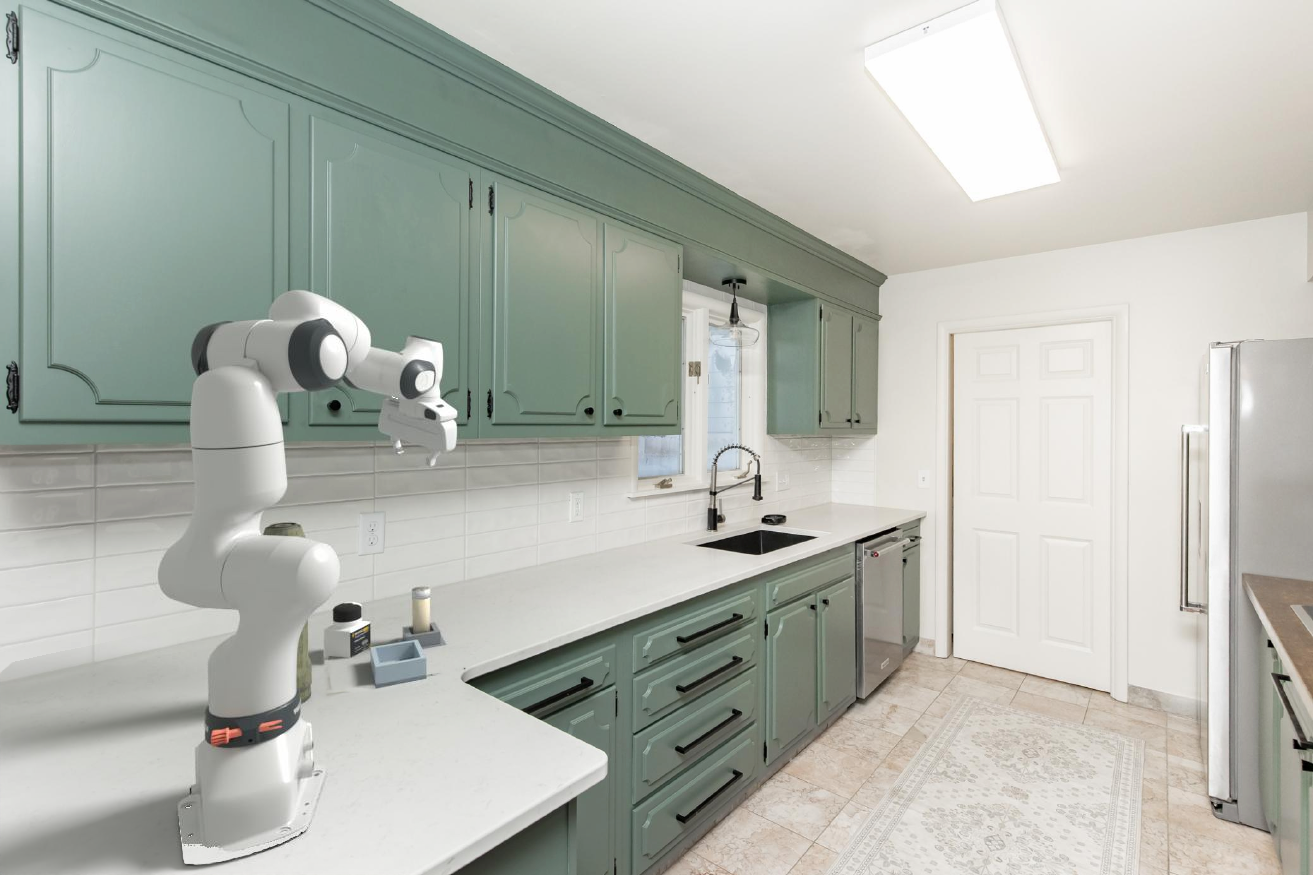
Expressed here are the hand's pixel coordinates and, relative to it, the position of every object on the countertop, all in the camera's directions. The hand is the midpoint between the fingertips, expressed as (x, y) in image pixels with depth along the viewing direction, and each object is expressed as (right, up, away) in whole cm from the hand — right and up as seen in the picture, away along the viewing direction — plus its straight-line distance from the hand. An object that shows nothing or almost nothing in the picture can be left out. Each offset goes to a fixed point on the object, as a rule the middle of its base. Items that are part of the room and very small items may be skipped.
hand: (414, 459), depth 148 cm
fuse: (+1, -45, +2) cm, 45 cm away
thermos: (-15, -47, -26) cm, 56 cm away
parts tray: (+2, -46, -13) cm, 48 cm away
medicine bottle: (-14, -46, -4) cm, 48 cm away
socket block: (+1, -46, +2) cm, 46 cm away
